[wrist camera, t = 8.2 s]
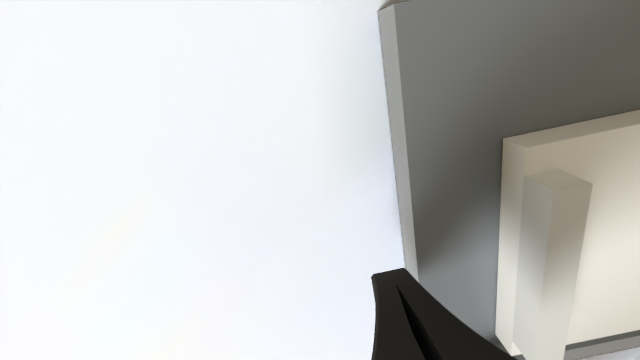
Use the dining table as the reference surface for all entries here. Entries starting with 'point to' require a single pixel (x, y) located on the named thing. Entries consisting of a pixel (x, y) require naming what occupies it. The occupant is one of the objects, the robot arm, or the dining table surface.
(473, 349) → the robot arm
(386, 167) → the dining table surface
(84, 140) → the dining table surface
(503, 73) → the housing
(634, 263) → the cover
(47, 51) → the dining table surface
